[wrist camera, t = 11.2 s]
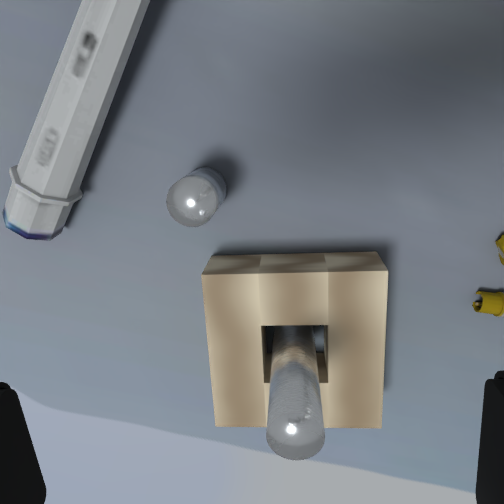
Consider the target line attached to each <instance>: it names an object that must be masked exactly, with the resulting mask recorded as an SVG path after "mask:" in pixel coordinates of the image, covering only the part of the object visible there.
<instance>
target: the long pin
mask: <svg viewBox="0 0 504 504" xmlns="http://www.w3.org/2000/svg"><path fill="white" fill-rule="evenodd" d="M266 438H267V442H268V444H269V446H270V448H271V449H272V450H273V451H274V452H275V453H276V454H278V455H279V456H281V457H283V458H286V459H290V460H304V459H308V458H310V457H312V456H314V455H315V454H317V453H318V452H319V451H320V450H321V448H322V447H323V444H324V441H325V432H324V422H323V413H322V404H321V395H320V385H319V376H318V367H317V357H316V348H315V339H314V329H313V325H274V336H273V349H272V363H271V377H270V391H269V404H268V418H267V432H266Z"/></svg>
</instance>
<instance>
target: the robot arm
mask: <svg viewBox="0 0 504 504" xmlns="http://www.w3.org/2000/svg"><path fill="white" fill-rule="evenodd" d="M45 498H46V486H45V483H44V480H43V476H42V473H41V470H40V467H39V463H38V460H37V457H36V454H35V450H34V447H33V444H32V440H31V437H30V434H29V431H28V428H27V424H26V421H25V418H24V414H23V411H22V408H21V405H20V401H19V399H18V395H17V393H16V392H15V391H14V390H13V389H11V388H10V386H9V385H8V384H7V383H4V382H0V504H44V502H45ZM476 500H477V504H504V371H498V372H497V373H496V374H495V377H494V379H488V380H487V381H486V382H485V389H484V400H483V412H482V423H481V435H480V447H479V458H478V470H477V482H476Z"/></svg>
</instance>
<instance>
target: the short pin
mask: <svg viewBox="0 0 504 504" xmlns="http://www.w3.org/2000/svg"><path fill="white" fill-rule="evenodd" d="M226 193H227V186H226V182H225V180H224V178H223V176H222V175H221V174H220V173H219V172H217V171H216V170H214V169H212V168H207V167H203V168H198V169H196V170H194V171H193V172H191V173H190V174H188V175H186V176H185V177H183V178H182V179H180V180H179V181H177V182H176V183H174V184H173V185H172V187H171V188H170V190H169V192H168V194H167V208H168V211H169V213H170V215H171V216H172V217H173V219H174V220H175V221H177V222H178V223H180V224H182V225H184V226H187V227H198V226H201V225H203V224H205V223H206V222H208V221H209V220H210V219H211V217H212V216H213V215H214V213H215V212H216V210H217V209H218V208H219V206H220V205H221V203H222V202H223V201H224V199H225V197H226Z"/></svg>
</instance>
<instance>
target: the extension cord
mask: <svg viewBox="0 0 504 504" xmlns="http://www.w3.org/2000/svg"><path fill="white" fill-rule="evenodd" d="M495 242H496V245H497V247H498V251H499V257H500V260H501V263H502V264H503V265H504V235H502V236H501V238H500V239H499V240H498V241H495ZM476 294H480V295H481V297H482V298H483V302H482V303H481V302H473V305H472V306H473V308H474V310H475V311H476V312H481V313H489V314H494V316H499V317H504V292H496V293H491V292H483V291H478V292H476Z"/></svg>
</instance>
